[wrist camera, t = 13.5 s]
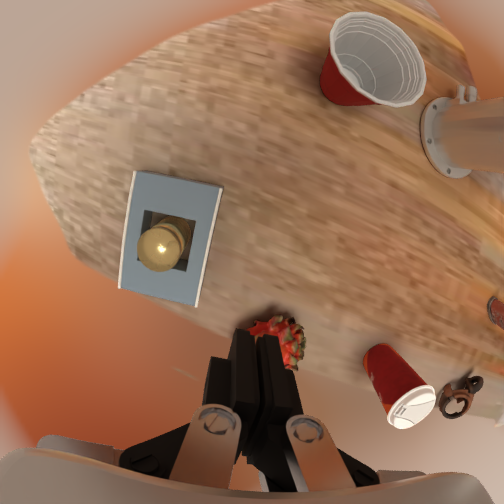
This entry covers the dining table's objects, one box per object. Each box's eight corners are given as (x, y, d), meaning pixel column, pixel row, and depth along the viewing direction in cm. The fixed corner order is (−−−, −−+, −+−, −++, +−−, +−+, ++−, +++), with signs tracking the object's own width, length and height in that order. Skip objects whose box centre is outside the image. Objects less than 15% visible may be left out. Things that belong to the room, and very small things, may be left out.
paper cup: (348, 371, 43) (380, 431, 30) (372, 333, 41) (414, 389, 28) (382, 377, 44) (416, 430, 31) (405, 342, 43) (448, 392, 29)
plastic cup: (390, 85, 31) (442, 63, 20) (352, 140, 33) (402, 130, 22) (328, 34, 29) (362, -8, 18) (283, 87, 31) (306, 51, 20)
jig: (145, 170, 33) (133, 170, 29) (223, 186, 34) (222, 188, 30) (129, 276, 36) (117, 288, 32) (200, 293, 38) (197, 307, 34)
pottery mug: (449, 405, 51) (451, 427, 44) (429, 386, 53) (430, 408, 46) (486, 376, 46) (492, 396, 38) (467, 354, 48) (473, 375, 41)
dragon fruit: (302, 306, 41) (241, 347, 44) (272, 291, 35) (203, 340, 38) (329, 357, 36) (260, 395, 39) (303, 353, 29) (223, 397, 33)
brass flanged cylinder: (159, 212, 34) (139, 224, 27) (194, 219, 35) (183, 233, 27) (153, 246, 36) (134, 266, 28) (187, 254, 36) (175, 276, 28)
